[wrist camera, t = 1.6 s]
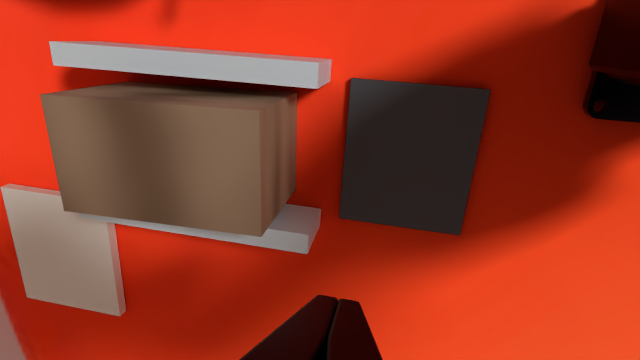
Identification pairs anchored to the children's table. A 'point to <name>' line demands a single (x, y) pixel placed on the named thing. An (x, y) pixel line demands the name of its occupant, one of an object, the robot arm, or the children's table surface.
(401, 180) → the mat
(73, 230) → the cream tile
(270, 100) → the walnut block
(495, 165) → the children's table surface
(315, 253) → the children's table surface
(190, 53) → the channel
